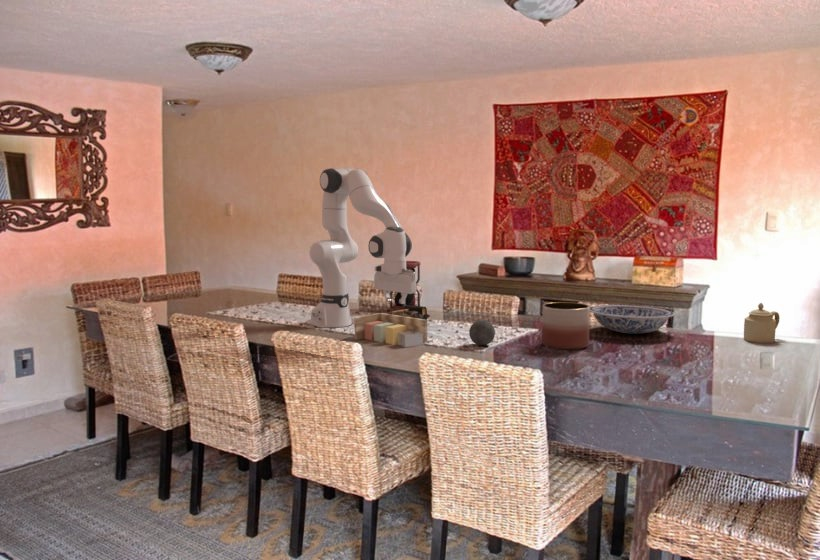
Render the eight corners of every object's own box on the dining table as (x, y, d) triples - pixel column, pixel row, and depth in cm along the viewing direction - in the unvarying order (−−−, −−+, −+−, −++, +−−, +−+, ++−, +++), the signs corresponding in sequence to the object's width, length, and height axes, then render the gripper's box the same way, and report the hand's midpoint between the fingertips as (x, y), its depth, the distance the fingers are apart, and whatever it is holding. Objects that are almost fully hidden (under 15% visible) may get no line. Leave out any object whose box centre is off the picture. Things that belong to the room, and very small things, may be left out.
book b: (374, 340, 268) (373, 325, 267) (387, 337, 273) (387, 322, 273) (381, 342, 265) (380, 326, 264) (394, 338, 271) (394, 323, 270)
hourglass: (420, 313, 330) (420, 263, 327) (388, 313, 330) (387, 263, 327) (420, 307, 346) (420, 260, 343) (390, 308, 346) (389, 260, 343)
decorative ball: (464, 343, 260) (464, 318, 259) (486, 341, 264) (486, 316, 263) (477, 349, 251) (477, 323, 250) (499, 346, 255) (500, 321, 254)
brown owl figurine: (407, 305, 301) (443, 306, 281) (408, 328, 301) (444, 331, 281) (381, 307, 292) (415, 308, 272) (382, 332, 292) (417, 334, 273)
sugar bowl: (749, 334, 273) (751, 298, 271) (779, 337, 266) (781, 301, 264) (740, 340, 261) (742, 303, 259) (771, 344, 254) (774, 305, 252)
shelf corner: (354, 339, 270) (354, 317, 269) (380, 333, 281) (380, 312, 280) (401, 348, 253) (401, 325, 251) (427, 342, 264) (427, 319, 263)
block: (397, 345, 260) (397, 332, 259) (415, 342, 264) (415, 330, 263) (405, 347, 255) (404, 335, 254) (423, 345, 259) (422, 333, 258)
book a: (364, 339, 271) (364, 323, 270) (378, 335, 277) (378, 320, 276) (371, 340, 269) (371, 324, 268) (385, 337, 274) (384, 321, 274)
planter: (562, 352, 244) (563, 310, 242) (532, 343, 259) (532, 304, 258) (598, 347, 252) (599, 306, 250) (567, 338, 268) (568, 300, 266)
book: (385, 343, 263) (385, 327, 262) (399, 339, 269) (399, 324, 268) (392, 344, 261) (392, 328, 260) (406, 341, 266) (406, 325, 266)
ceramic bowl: (686, 331, 279) (687, 308, 278) (652, 345, 254) (653, 319, 253) (610, 322, 303) (611, 300, 301) (572, 333, 278) (573, 310, 276)
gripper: (420, 269, 257) (420, 304, 258) (382, 265, 270) (382, 298, 272) (409, 270, 252) (409, 306, 254) (371, 266, 266) (371, 300, 267)
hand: (395, 302), depth 263 cm, fingers open, 6 cm apart
